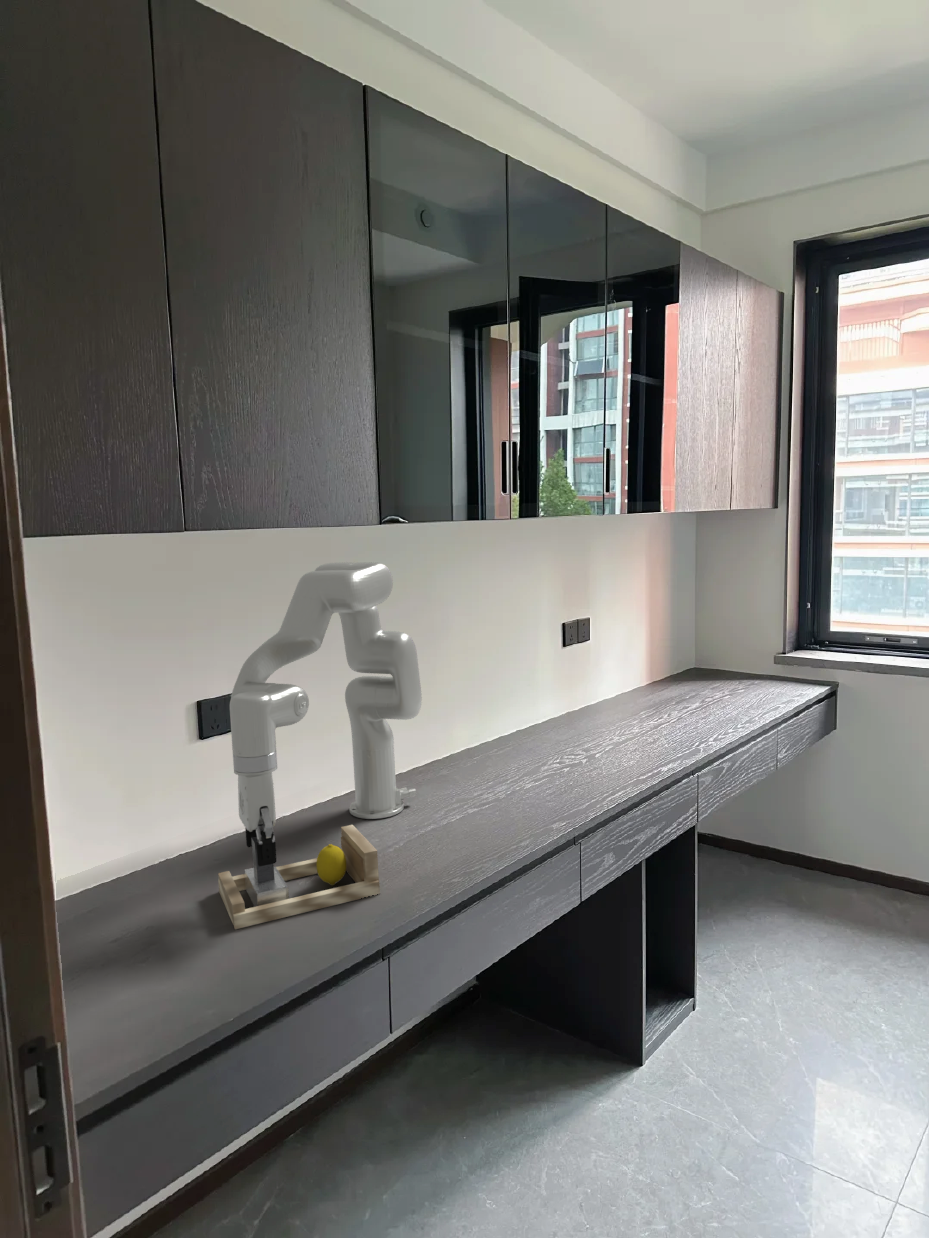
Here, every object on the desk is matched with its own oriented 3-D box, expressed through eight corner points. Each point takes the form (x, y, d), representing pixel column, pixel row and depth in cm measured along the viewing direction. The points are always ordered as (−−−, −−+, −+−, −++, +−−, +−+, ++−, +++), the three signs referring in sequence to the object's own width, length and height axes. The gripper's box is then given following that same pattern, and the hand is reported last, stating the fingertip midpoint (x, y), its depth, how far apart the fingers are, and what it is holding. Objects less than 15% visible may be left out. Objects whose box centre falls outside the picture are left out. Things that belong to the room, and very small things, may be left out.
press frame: (353, 861, 168) (351, 823, 167) (381, 893, 154) (378, 851, 153) (219, 891, 157) (215, 850, 156) (235, 929, 143) (231, 884, 142)
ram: (276, 883, 159) (271, 825, 158) (290, 907, 149) (285, 845, 148) (246, 890, 157) (241, 830, 155) (258, 914, 147) (253, 852, 145)
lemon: (333, 875, 162) (331, 836, 161) (353, 883, 159) (351, 842, 158) (311, 886, 158) (308, 845, 157) (331, 894, 154) (328, 852, 153)
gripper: (225, 753, 156) (231, 842, 158) (243, 778, 140) (249, 876, 142) (265, 747, 159) (271, 835, 161) (288, 771, 143) (293, 867, 145)
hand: (261, 854), depth 151 cm, fingers open, 9 cm apart
